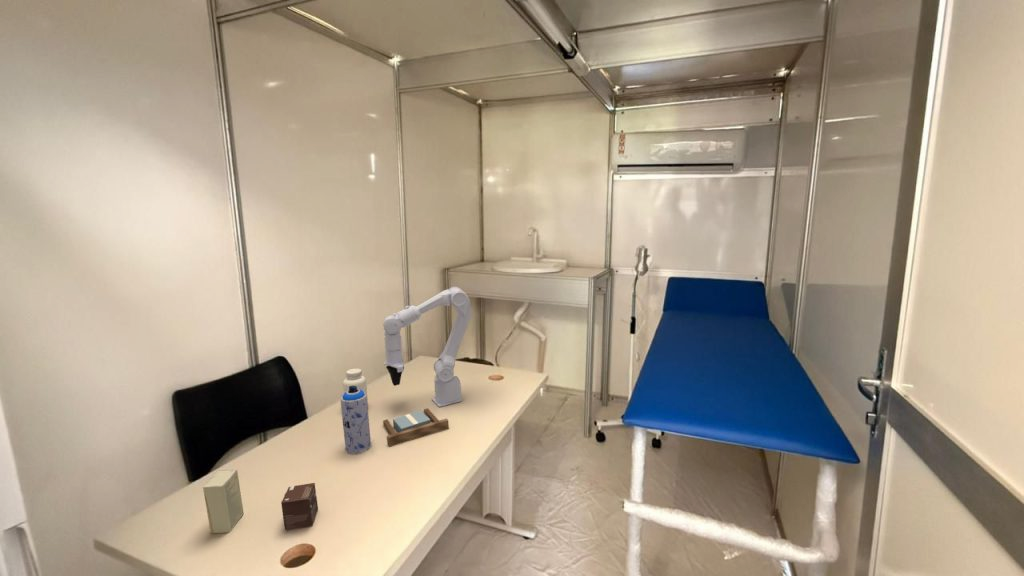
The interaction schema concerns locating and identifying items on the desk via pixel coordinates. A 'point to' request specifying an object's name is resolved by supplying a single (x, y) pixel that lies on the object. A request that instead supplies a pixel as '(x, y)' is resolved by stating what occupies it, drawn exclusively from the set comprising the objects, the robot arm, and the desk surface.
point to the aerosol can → (355, 421)
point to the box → (299, 506)
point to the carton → (410, 421)
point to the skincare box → (223, 501)
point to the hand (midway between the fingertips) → (396, 384)
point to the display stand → (415, 429)
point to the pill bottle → (355, 380)
